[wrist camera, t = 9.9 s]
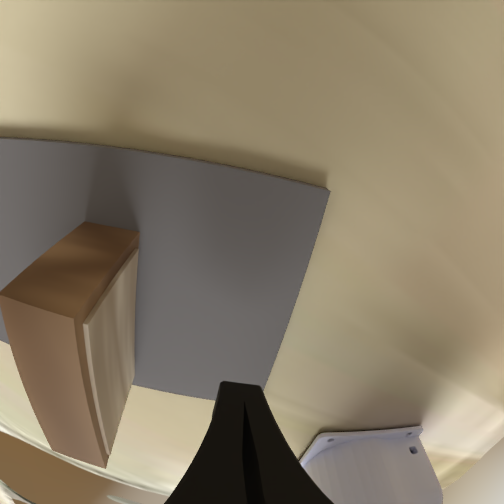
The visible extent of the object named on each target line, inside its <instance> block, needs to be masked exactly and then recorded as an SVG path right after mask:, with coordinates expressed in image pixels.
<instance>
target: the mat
mask: <svg viewBox="0 0 504 504" xmlns="http://www.w3.org/2000/svg"><path fill="white" fill-rule="evenodd" d="M329 195H330V191H329V190H328V189H327V188H324V187H320V186H316V185H312V184H308V183H304V182H300V181H296V180H292V179H288V178H283V177H279V176H275V175H271V174H266V173H262V172H257V171H253V170H248V169H243V168H238V167H234V166H229V165H224V164H219V163H213V162H208V161H203V160H197V159H192V158H186V157H180V156H174V155H168V154H162V153H156V152H149V151H143V150H136V149H128V148H121V147H113V146H105V145H97V144H88V143H78V142H68V141H56V140H44V139H29V138H10V137H0V291H1V290H2V289H3V288H4V287H6V286H7V285H8V284H9V283H10V282H11V281H12V280H13V279H14V278H15V277H17V276H18V275H19V274H20V273H21V272H22V271H23V270H25V269H26V268H27V267H28V266H29V265H30V264H32V263H33V262H34V261H35V260H36V259H38V258H39V257H40V256H41V255H42V254H44V253H45V252H46V251H47V250H48V249H50V248H51V247H52V246H53V245H55V244H56V243H57V242H58V241H60V240H61V239H62V238H64V237H65V236H66V235H67V234H69V233H70V232H71V231H73V230H74V229H75V228H77V227H78V226H79V225H81V224H82V223H83V222H85V221H86V222H91V223H96V224H101V225H106V226H112V227H117V228H122V229H127V230H132V231H137V232H140V236H139V247H138V249H139V253H138V266H137V281H136V301H135V343H134V357H135V376H134V379H133V382H132V385H137V386H141V387H145V388H150V389H154V390H159V391H164V392H169V393H174V394H179V395H185V396H190V397H196V398H202V399H209V400H215V401H216V397H217V393H218V389H219V385H220V382H222V381H230V382H237V383H245V384H253V385H260V386H261V388H262V390H264V388H265V385H266V382H267V380H268V377H269V375H270V372H271V369H272V367H273V364H274V361H275V359H276V356H277V353H278V351H279V348H280V345H281V342H282V340H283V337H284V334H285V331H286V328H287V326H288V323H289V320H290V317H291V314H292V311H293V308H294V306H295V303H296V300H297V297H298V294H299V291H300V288H301V285H302V282H303V279H304V276H305V273H306V270H307V267H308V263H309V260H310V257H311V254H312V251H313V248H314V245H315V241H316V238H317V235H318V232H319V228H320V225H321V222H322V219H323V215H324V212H325V209H326V205H327V202H328V198H329ZM0 340H1V341H3V342H5V343H8V344H10V343H9V339H8V336H7V332H6V328H5V324H4V320H3V316H2V312H1V307H0Z"/></svg>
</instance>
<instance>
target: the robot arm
mask: <svg viewBox="0 0 504 504" xmlns="http://www.w3.org/2000/svg"><path fill="white" fill-rule="evenodd" d="M422 432H423V427H422V426H415V427H406V428H397V429H387V430H375V431H359V432H325V433H321V434H319V435H318V436H317V437H316V438H315V440H314V441H313V443H312V444H311V446H310V447H309V448H308V450H307V451H306V453H305V454H304V455H303V457H302V458H301V459H300V461H298V459H297V458H296V456H295V455H294V453H293V452H292V450H291V448H290V447H289V445H288V443H287V442H286V440H285V438H284V436H283V434H282V432H281V431H280V429H279V427H278V425H277V423H276V421H275V419H274V417H273V414H272V412H271V410H270V408H269V405H268V403H267V401H266V398H265V396H264V393H263V390H262V388H261V386H260V385H253V384H245V383H237V382H230V381H222V382H220V385H219V389H218V393H217V397H216V401H215V405H214V409H213V414H212V421H211V423H210V426H209V428H208V431H207V433H206V435H205V437H204V439H203V442H202V444H201V446H200V448H199V450H198V452H197V454H196V456H195V457H194V459H193V461H192V463H191V465H190V466H189V468H188V470H187V471H186V473H185V475H184V476H183V478H182V479H181V481H180V482H179V484H178V485H177V487H176V488H175V490H174V491H173V493H172V494H171V495H170V497H169V498H168V499H167V501H166V502H165V503H164V504H443V494H442V489H441V486H440V483H439V481H438V479H437V476H436V474H435V472H434V469H433V467H432V465H431V463H430V460H429V458H428V456H427V454H426V452H425V449H424V447H423V445H422V443H421V441H420V439H419V435H420V434H421V433H422Z"/></svg>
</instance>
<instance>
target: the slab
mask: <svg viewBox="0 0 504 504" xmlns="http://www.w3.org/2000/svg"><path fill="white" fill-rule="evenodd" d="M139 236H140V232H137V231H132V230H127V229H122V228H117V227H112V226H106V225H101V224H96V223H91V222H86V221H85V222H83V223H82V224H81V225H79V226H78V227H77V228H75V229H74V230H73V231H71V232H70V233H69V234H67V235H66V236H65V237H64V238H62V239H61V240H60V241H58V242H57V243H56V244H55V245H53V246H52V247H51V248H50V249H48V250H47V251H46V252H45V253H44V254H42V255H41V256H40V257H39V258H38V259H36V260H35V261H34V262H33V263H32V264H30V265H29V266H28V267H27V268H26V269H25V270H23V271H22V272H21V273H20V274H19V275H18V276H17V277H15V278H14V279H13V280H12V281H11V282H10V283H9V284H8V285H7V286H6V287H4V288H3V289H2V290H1V291H0V307H1V312H2V316H3V320H4V324H5V328H6V332H7V336H8V339H9V343H10V346H11V350H12V353H13V356H14V359H15V362H16V365H17V368H18V371H19V374H20V377H21V380H22V383H23V385H24V388H25V391H26V393H27V396H28V398H29V401H30V403H31V406H32V408H33V410H34V413H35V415H36V417H37V420H38V422H39V424H40V426H41V428H42V430H43V432H44V435H45V437H46V439H47V441H48V443H49V445H50V447H51V449H52V450H53V451H56V452H58V453H61V454H63V455H66V456H69V457H72V458H74V459H77V460H80V461H83V462H86V463H89V464H92V465H95V466H99V467H102V468H105V469H106V466H107V462H108V458H109V455H110V454H111V451H112V447H113V444H114V440H115V437H116V433H117V430H118V426H119V423H120V420H121V417H122V413H123V410H124V407H125V404H126V400H127V397H128V394H129V391H130V388H131V385H132V382H133V379H134V376H135V357H134V343H135V301H136V281H137V266H138V253H139V249H138V247H139Z"/></svg>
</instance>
